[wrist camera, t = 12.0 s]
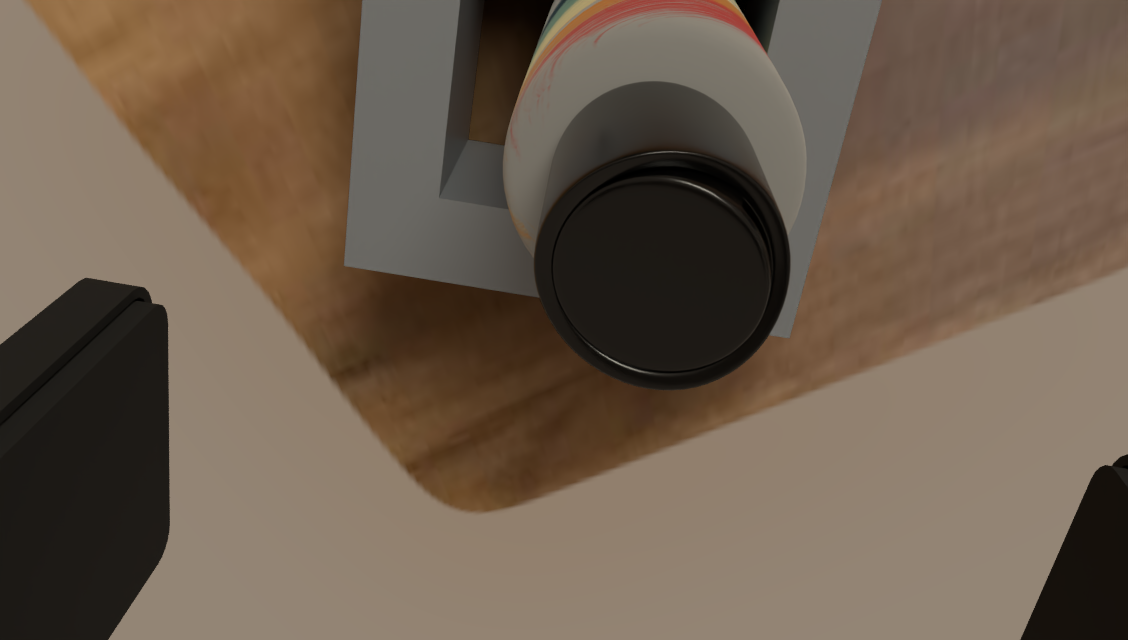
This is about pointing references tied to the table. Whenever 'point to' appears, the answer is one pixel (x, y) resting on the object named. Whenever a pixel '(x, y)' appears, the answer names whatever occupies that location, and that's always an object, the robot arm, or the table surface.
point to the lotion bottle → (656, 186)
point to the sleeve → (475, 169)
